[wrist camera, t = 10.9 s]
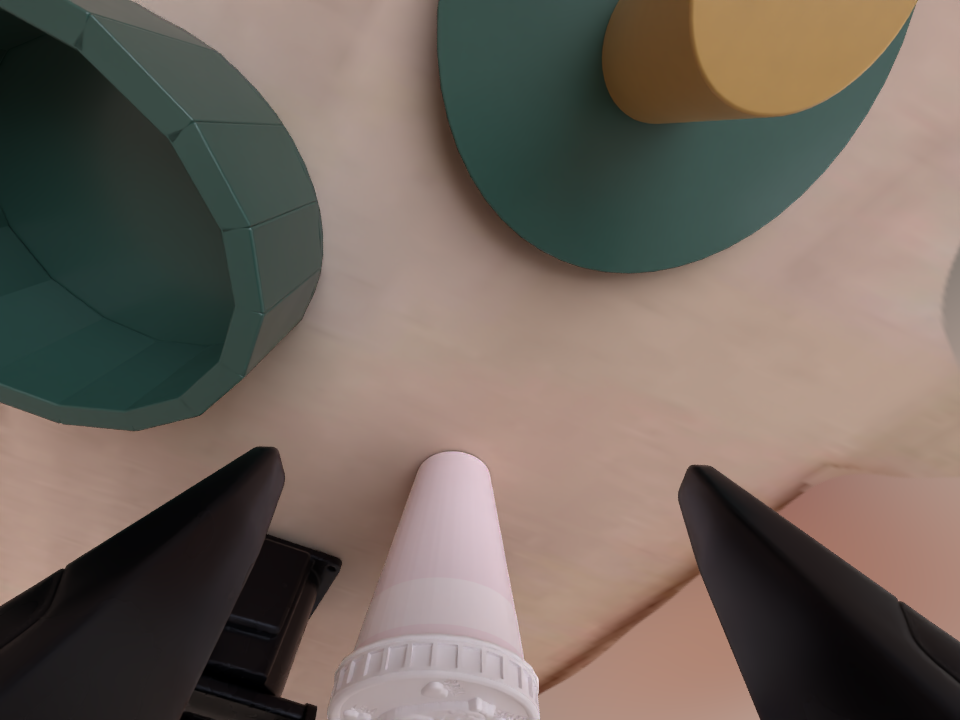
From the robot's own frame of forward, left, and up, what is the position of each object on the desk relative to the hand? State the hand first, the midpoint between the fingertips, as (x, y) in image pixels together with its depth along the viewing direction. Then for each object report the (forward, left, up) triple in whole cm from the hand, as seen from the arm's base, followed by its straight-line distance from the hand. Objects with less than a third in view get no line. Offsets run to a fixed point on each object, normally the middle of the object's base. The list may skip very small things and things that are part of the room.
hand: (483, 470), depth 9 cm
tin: (-2, +12, -8) cm, 15 cm away
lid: (+10, 0, -8) cm, 12 cm away
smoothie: (-8, -3, -8) cm, 12 cm away
